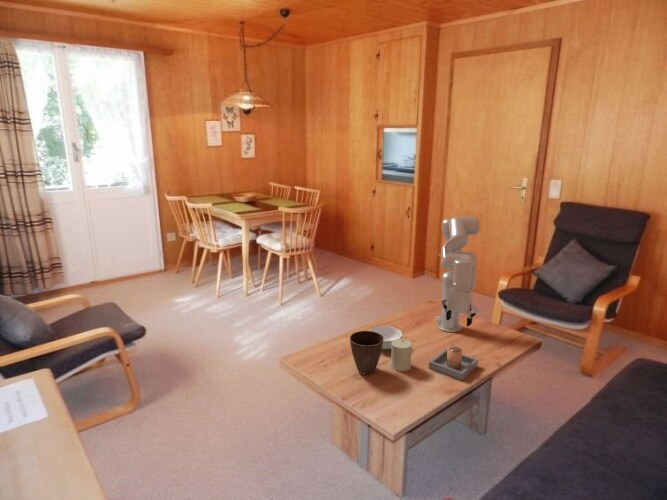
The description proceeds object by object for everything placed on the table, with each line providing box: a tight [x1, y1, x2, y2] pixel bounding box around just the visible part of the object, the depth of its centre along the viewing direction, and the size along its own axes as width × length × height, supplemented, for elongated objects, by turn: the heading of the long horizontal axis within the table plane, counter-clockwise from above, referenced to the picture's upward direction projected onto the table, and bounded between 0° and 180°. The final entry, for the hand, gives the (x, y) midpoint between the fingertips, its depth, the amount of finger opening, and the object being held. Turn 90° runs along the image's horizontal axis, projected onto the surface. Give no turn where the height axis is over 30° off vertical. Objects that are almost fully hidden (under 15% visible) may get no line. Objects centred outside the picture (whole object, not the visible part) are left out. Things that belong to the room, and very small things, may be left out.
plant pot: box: [349, 330, 384, 375], centre depth 201 cm, size 15×15×16 cm
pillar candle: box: [390, 338, 412, 372], centre depth 205 cm, size 9×9×12 cm
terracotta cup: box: [446, 345, 463, 369], centre depth 204 cm, size 6×6×8 cm
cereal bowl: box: [368, 325, 403, 350], centre depth 225 cm, size 17×17×7 cm
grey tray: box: [428, 348, 479, 382], centre depth 204 cm, size 16×16×4 cm
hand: (458, 322), depth 203 cm, fingers open, 9 cm apart
